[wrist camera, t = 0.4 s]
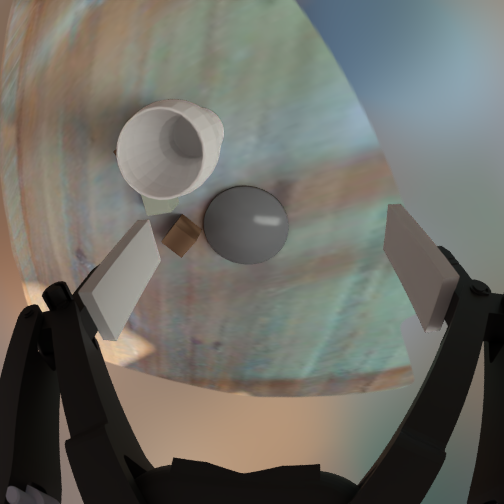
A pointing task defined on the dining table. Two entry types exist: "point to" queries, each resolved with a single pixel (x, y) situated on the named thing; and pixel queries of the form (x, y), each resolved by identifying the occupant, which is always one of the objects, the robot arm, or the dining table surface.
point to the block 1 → (159, 205)
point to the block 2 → (181, 236)
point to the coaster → (246, 225)
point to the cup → (169, 148)
